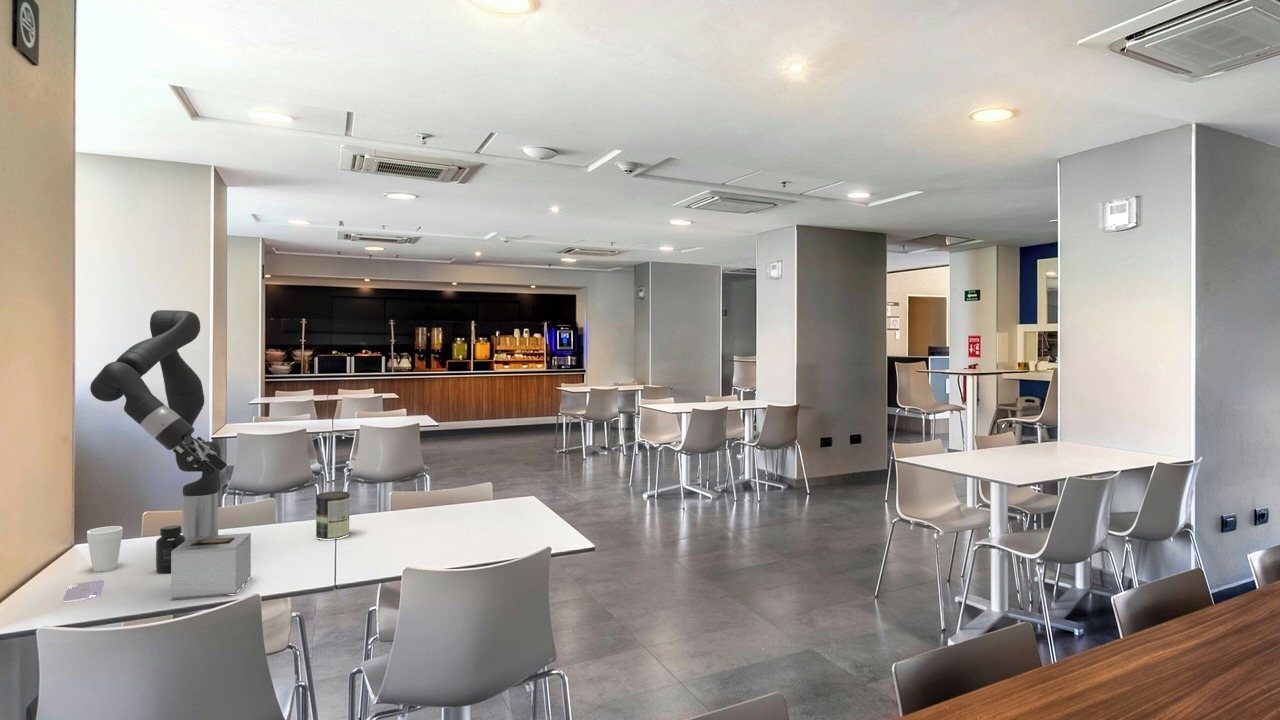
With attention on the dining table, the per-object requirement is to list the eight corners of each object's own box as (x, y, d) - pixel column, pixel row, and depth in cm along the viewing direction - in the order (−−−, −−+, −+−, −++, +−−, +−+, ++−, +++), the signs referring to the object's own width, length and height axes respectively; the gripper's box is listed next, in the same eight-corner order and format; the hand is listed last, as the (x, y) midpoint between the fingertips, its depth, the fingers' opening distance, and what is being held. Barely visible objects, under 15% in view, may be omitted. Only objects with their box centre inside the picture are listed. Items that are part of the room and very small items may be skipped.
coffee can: (310, 541, 219) (311, 497, 219) (322, 533, 230) (322, 491, 229) (344, 540, 220) (344, 497, 220) (353, 532, 231) (354, 490, 231)
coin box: (191, 581, 179) (191, 536, 179) (250, 577, 183) (250, 533, 183) (171, 600, 166) (171, 551, 166) (235, 594, 170) (235, 547, 170)
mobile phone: (104, 578, 180) (101, 594, 168) (104, 582, 180) (101, 598, 168) (66, 584, 175) (61, 601, 163) (66, 588, 175) (61, 605, 163)
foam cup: (107, 563, 195) (107, 525, 195) (129, 565, 193) (130, 526, 193) (79, 572, 187) (79, 532, 187) (102, 574, 185) (102, 534, 185)
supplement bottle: (191, 566, 192) (191, 524, 192) (172, 574, 186) (172, 530, 185) (169, 565, 193) (169, 523, 193) (149, 573, 186) (149, 529, 186)
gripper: (168, 419, 165) (222, 464, 169) (189, 414, 179) (238, 455, 182) (143, 441, 164) (197, 486, 167) (166, 434, 178) (216, 476, 181)
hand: (218, 470), depth 175 cm, fingers open, 8 cm apart
